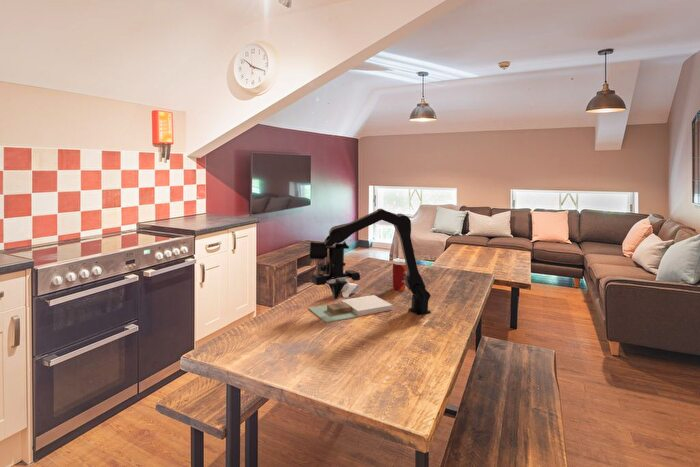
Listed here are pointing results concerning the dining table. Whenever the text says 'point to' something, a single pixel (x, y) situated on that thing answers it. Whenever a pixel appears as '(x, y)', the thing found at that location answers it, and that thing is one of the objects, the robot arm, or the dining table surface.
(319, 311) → the mat
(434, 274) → the dining table surface
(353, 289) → the plastic part
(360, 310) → the deck
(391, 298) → the dining table surface
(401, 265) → the paper cup
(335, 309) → the walnut tile
